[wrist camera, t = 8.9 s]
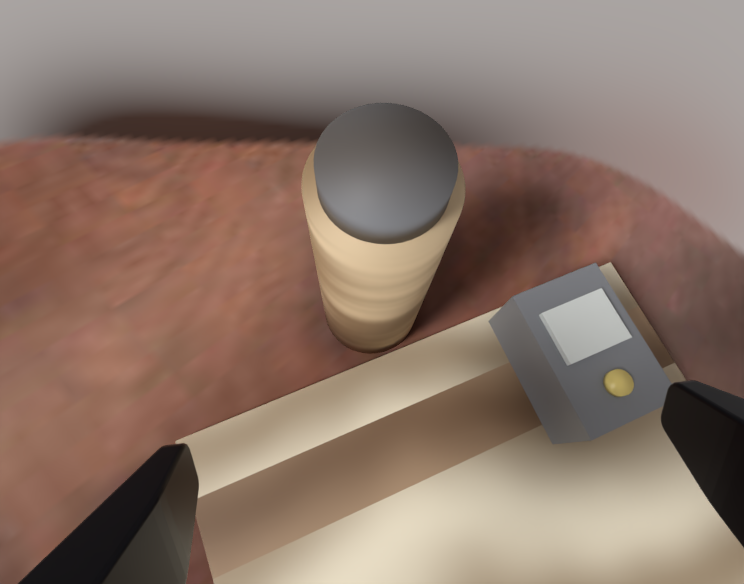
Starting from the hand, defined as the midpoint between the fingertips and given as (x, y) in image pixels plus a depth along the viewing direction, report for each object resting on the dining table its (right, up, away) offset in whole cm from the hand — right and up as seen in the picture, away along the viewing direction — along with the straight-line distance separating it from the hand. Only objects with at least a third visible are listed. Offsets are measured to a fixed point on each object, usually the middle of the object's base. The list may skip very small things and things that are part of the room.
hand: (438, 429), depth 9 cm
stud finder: (+7, -1, +13) cm, 15 cm away
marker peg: (-1, +2, +14) cm, 14 cm away
